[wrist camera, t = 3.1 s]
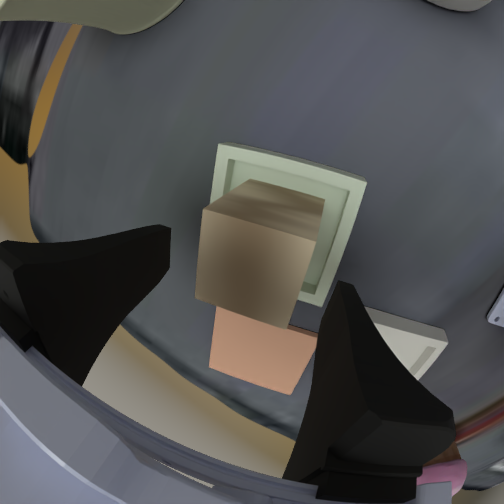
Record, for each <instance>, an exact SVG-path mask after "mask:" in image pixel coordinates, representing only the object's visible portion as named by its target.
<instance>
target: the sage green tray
mask: <svg viewBox="0 0 504 504" xmlns="http://www.w3.org/2000/svg"><path fill="white" fill-rule="evenodd" d="M249 179H254V180H258V181H262V182H266V183H270V184H273V185H277V186H281V187H285V188H288V189H292V190H295V191H299V192H302V193H306V194H309V195H313V196H316V197H319V198H323V199H325V202H324V207H323V213H322V217H321V222H320V227H319V232H318V236H317V241H316V245H315V248H314V251H313V254H312V257H311V260H310V263H309V266H308V269H307V272H306V275H305V278H304V281H303V284H302V287H301V290H300V293H299V296H298V298H297V300H300V301H304V302H307V303H310V304H313V305H316V306H320V307H322V306H323V303H324V301H325V298H326V296H327V294H328V291H329V289H330V286H331V284H332V281H333V279H334V276H335V274H336V271H337V269H338V266H339V263H340V261H341V258H342V255H343V253H344V250H345V247H346V244H347V242H348V239H349V236H350V233H351V230H352V227H353V225H354V222H355V219H356V216H357V213H358V210H359V207H360V203H361V200H362V197H363V194H364V191H365V187H366V184H367V182H366V180H365V178H364V177H362V176H359V175H356V174H353V173H350V172H346V171H343V170H340V169H337V168H333V167H330V166H327V165H323V164H320V163H316V162H313V161H309V160H305V159H302V158H298V157H294V156H290V155H286V154H282V153H278V152H274V151H269V150H265V149H261V148H256V147H251V146H247V145H242V144H237V143H232V142H226V143H220V144H218V150H217V156H216V163H215V170H214V177H213V184H212V191H211V199H210V204H211V203H213V202H214V201H216V200H217V199H219V198H220V197H222V196H223V195H225V194H226V193H228V192H230V191H231V190H233V189H234V188H236V187H237V186H239V185H241V184H242V183H244V182H245V181H247V180H249Z"/></svg>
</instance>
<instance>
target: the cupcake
mask: <svg viewBox="0 0 504 504" xmlns="http://www.w3.org/2000/svg"><path fill="white" fill-rule="evenodd" d="M466 475H467V463H466V461H465V460H463V459H461V457H460V454H459V451H458V448H457V445H456V443H455V441H453V443H452V444H451V445H450V447H449V448H448V449H446V450H445V451H444V452H443V453H441V454H440V455H438V456H437V457H435V458H433V459H432V460H430V461H429V462H427V463H425V464H424V465H423V474H422V475H421V476H420V477H417V485H420V484H425V483H434V482H446V481H451V482H452V496H453V495H454V494H455V493H457V492H458V491H459V490H460V489H461V487H462V485H463V483H464V481H465V479H466Z"/></svg>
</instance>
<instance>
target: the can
mask: <svg viewBox="0 0 504 504" xmlns="http://www.w3.org/2000/svg"><path fill="white" fill-rule="evenodd" d="M182 2H183V0H0V21H10V20H38V21H54V22H64V23H72V24H79V25H85V26H91V27H97V28H101V29H105V30H109V31H110V32H113V33H116V34H132V33H136V32H140V31H142V30H145V29H147V28H149V27H151V26H153V25H155V24H156V23H158V22H159V21H161V20H162V19H164V18H165V17H166V16H168V15H169V14H170V13H171V12H172V11H173V10H175V9H176V8H177V7H178V6H179V5H180V4H181V3H182Z"/></svg>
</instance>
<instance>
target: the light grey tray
mask: <svg viewBox="0 0 504 504" xmlns="http://www.w3.org/2000/svg"><path fill="white" fill-rule="evenodd" d="M364 307H365V309H366V311H367V312H368V314H369V316H370V318H371V320H372V321H373V323H374V325H375V326H376V328H377V330H378V331H379V333H380V334H381V336H382V338H383V339H384V341H385V342H386V343H387V345H388V346H389V348H390V349H391V350H392V352H393V353H394V354H395V356H396V357H397V358H398V359H399V361H400V362H401V363H402V364H403V365H404V366H405V367H406V369H407V370H408V371H409V372H410V373H411V374H412V375H413V376H414V377H415V378H416V379H417V380H419V379H420V378H421V377H422V375H423V374H424V373H425V372H426V371H427V370H428V368H429V367H430V366H431V365H432V364H433V362H434V361H435V360H436V359H437V357H438V356H439V355H440V353H441V352H442V351H443V350H444V348H445V347H446V346H447V344H448V340H447V337H446V334H445V331H444V329H441V328H437V327H434V326H430V325H427V324H423V323H420V322H416V321H413V320H409V319H406V318H403V317H399V316H396V315H392V314H389V313H386V312H382V311H379V310H376V309H372V308H369V307H366V306H364Z"/></svg>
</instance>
